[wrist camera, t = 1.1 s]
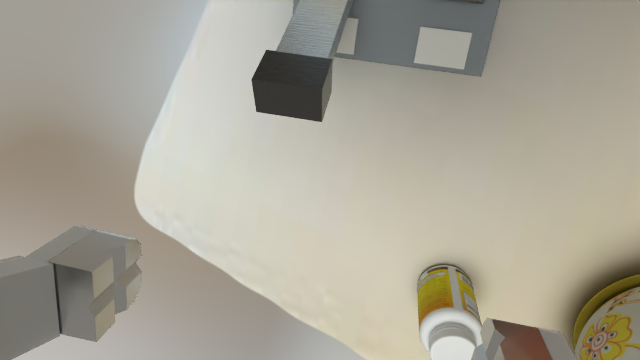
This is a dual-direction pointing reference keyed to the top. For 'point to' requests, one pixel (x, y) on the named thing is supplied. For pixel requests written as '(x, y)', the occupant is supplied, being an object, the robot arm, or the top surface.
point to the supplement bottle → (448, 314)
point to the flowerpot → (610, 323)
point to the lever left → (302, 62)
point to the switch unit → (419, 33)
